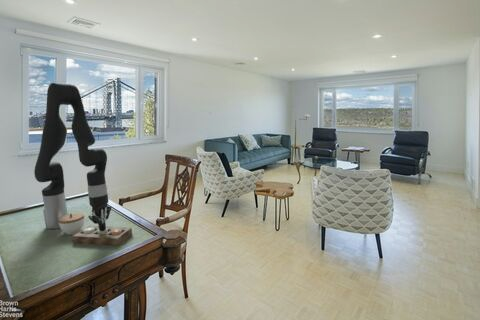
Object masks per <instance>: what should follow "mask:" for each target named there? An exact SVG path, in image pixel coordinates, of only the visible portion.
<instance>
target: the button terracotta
mask: <svg viewBox="0 0 480 320" xmlns="http://www.w3.org/2000/svg"><path fill="white" fill-rule="evenodd" d="M121 233H122V230H121V229H115V230H113V231H111V235H120V234H121Z"/></svg>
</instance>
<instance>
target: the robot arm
mask: <svg viewBox="0 0 480 320" xmlns="http://www.w3.org/2000/svg"><path fill="white" fill-rule="evenodd" d="M61 105H64V106H65V105H66V106H71V108H72V109H73V118H72V121H71V132H72V135H73V137H74V139H75V141H76V143H77V149H78V159H79V163H80V164H81V165H83V167H93V166H94V168H93V169H92V170H89V171H88V172H87V173H86V181H87V193H88V201H89V205H90V207H91V214H90V215H88V219H89V220H90V221H91V222H92V223H93V224H95V225H96V224H97V226H99V230H100V231H104V230H106V227H107V225H106V224H107V223H106V222H107V220H109V217H110V214H111V211H112V206H108V205H109V204H108V203H109V196H108V187H107V183H106V176H105V174H106V173H105V172H106V169H107V163H108V155H107V152H106V150H104V148H93V149H89V147H90V146H93V145H94V144H95V143H96V138H95V136H94V134H93V131H92V129H91V128H90V125H89V122H88V119H87V116H86V112H85V108H84V103H83V100H82V95H81V93H80V90H79V89H78V87H77V86H76V85H74V84H72V83H63V82H51V83H49V85H48V88H47V93H46V109H45V110H46V111H45V118H44V124H43V128H42V135H41V141H40V148H39V152H38V156H37V158H36V163H35V166H34V170H33V171H34V172H33V173H34V179H35V180H36V181H37V182H38V183H48V182H50V183H49V184H48V185H47V186H46V187H44V188H43V189H42V190H41V195H42V201H43V207H44V209H43V216H44V217H43V218H44V223H45V225H44V226H45V228H47V229H49V230H57V229H60V226H59V222H58V219H59V218H60V217H62V216H65V215H68V209H67V202H66V195H65V178H64V169H63V166H62V165H61V163H60V162H58V161H52V159H54V157H55V156H56V155H57V154H58V152H59V151H61V149H62V148H63V146H64V145H65V143H66V138H67V134H68V129H67V127H66V125H65V123H64V121H63V120H62V118H61V116H60V107H61Z"/></svg>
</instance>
